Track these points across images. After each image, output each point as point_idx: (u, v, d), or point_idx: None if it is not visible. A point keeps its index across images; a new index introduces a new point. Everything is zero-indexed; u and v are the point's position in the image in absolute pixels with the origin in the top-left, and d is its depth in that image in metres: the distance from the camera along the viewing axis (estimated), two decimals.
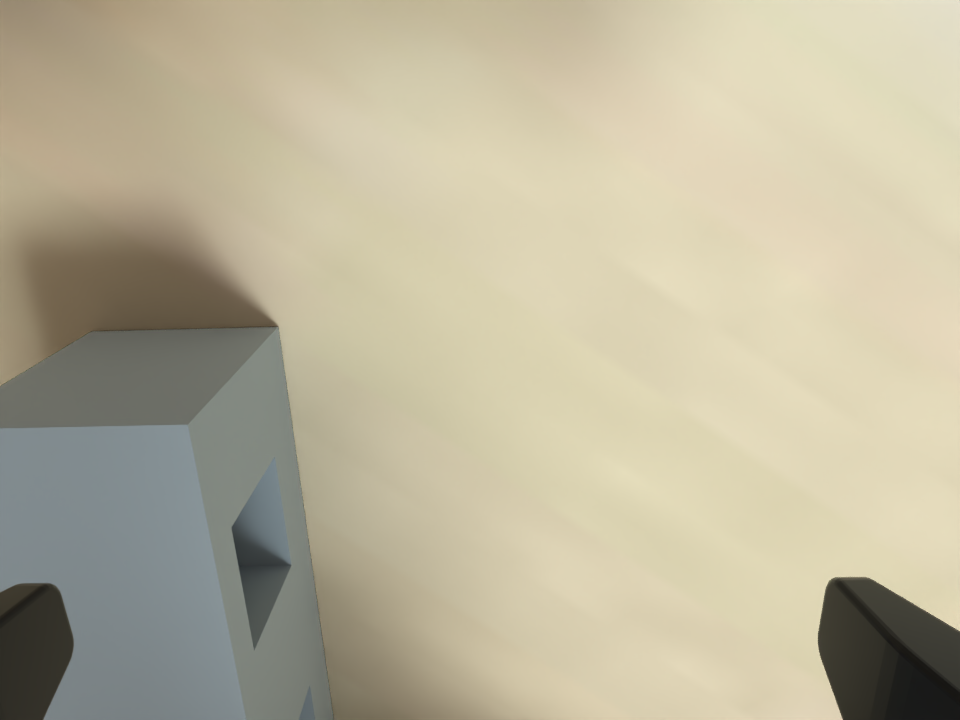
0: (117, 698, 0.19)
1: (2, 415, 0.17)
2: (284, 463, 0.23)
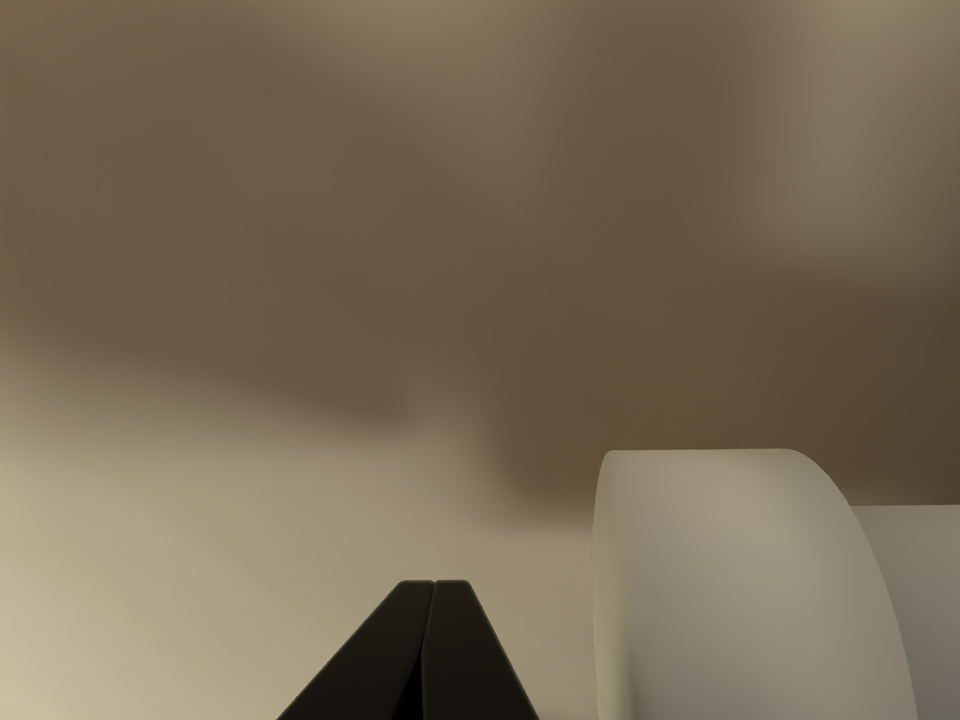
0: None
1: None
2: None
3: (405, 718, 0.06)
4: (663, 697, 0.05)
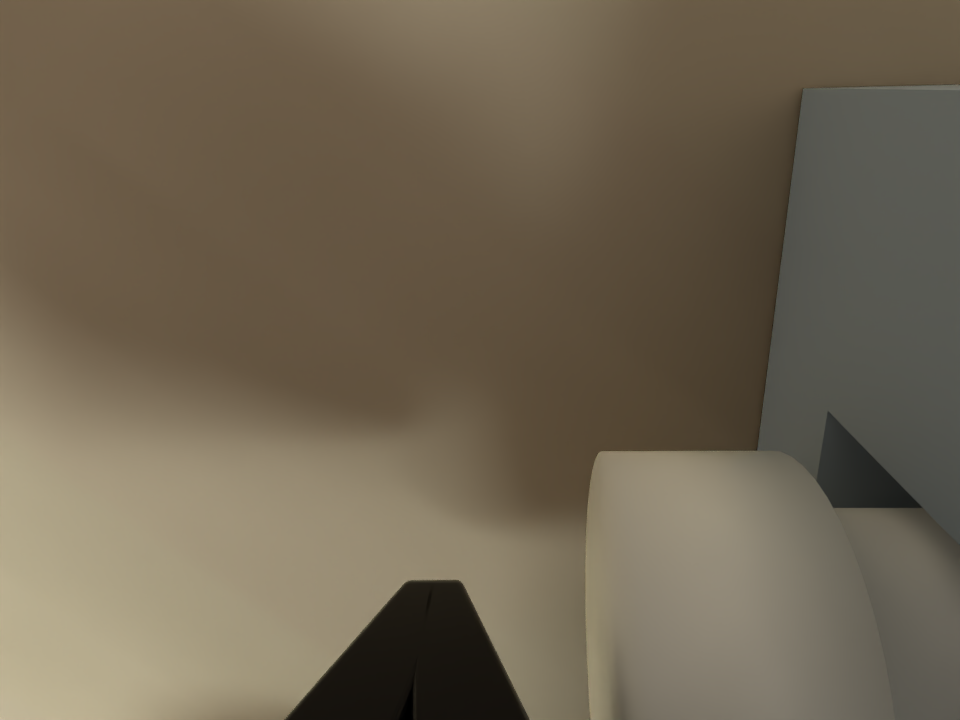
0: None
1: None
2: None
3: None
4: (643, 695, 0.05)
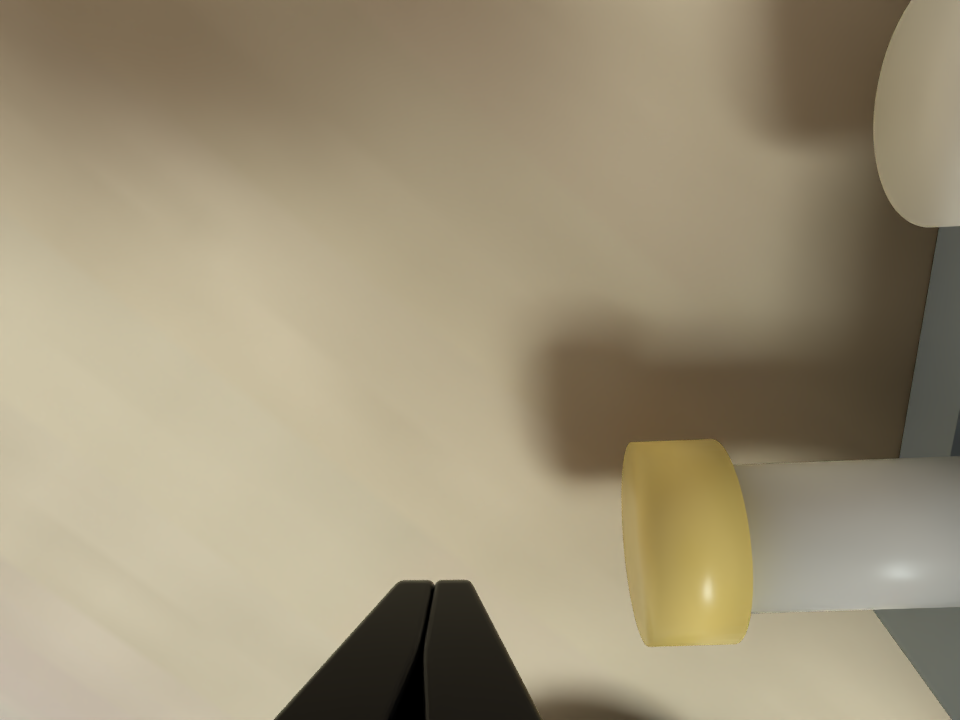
0: None
1: None
2: None
3: (403, 718, 0.06)
4: None
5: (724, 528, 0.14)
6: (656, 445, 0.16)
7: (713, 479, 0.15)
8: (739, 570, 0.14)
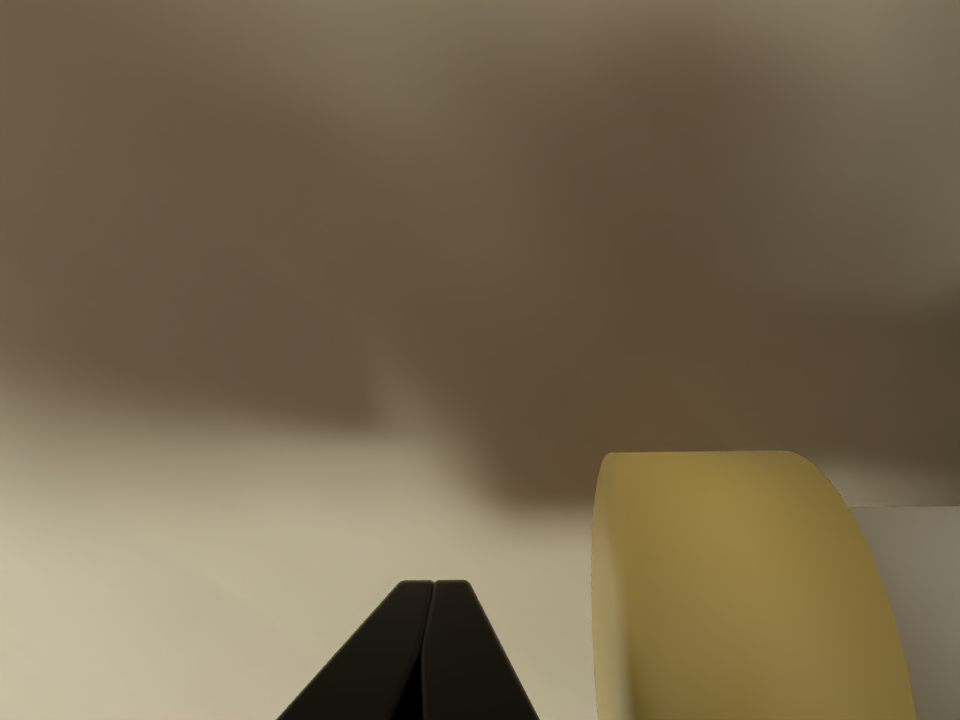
0: None
1: None
2: None
3: (405, 718, 0.06)
4: None
5: (846, 691, 0.05)
6: (665, 462, 0.07)
7: (809, 555, 0.06)
8: None
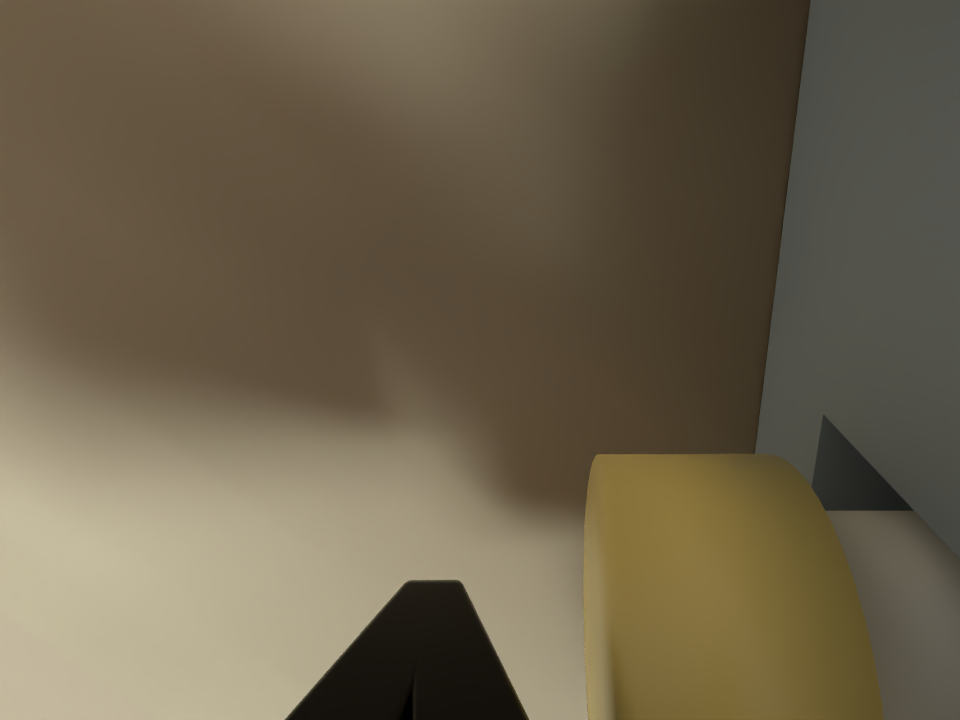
0: None
1: None
2: None
3: None
4: None
5: (815, 689, 0.05)
6: (650, 463, 0.07)
7: (785, 555, 0.06)
8: None
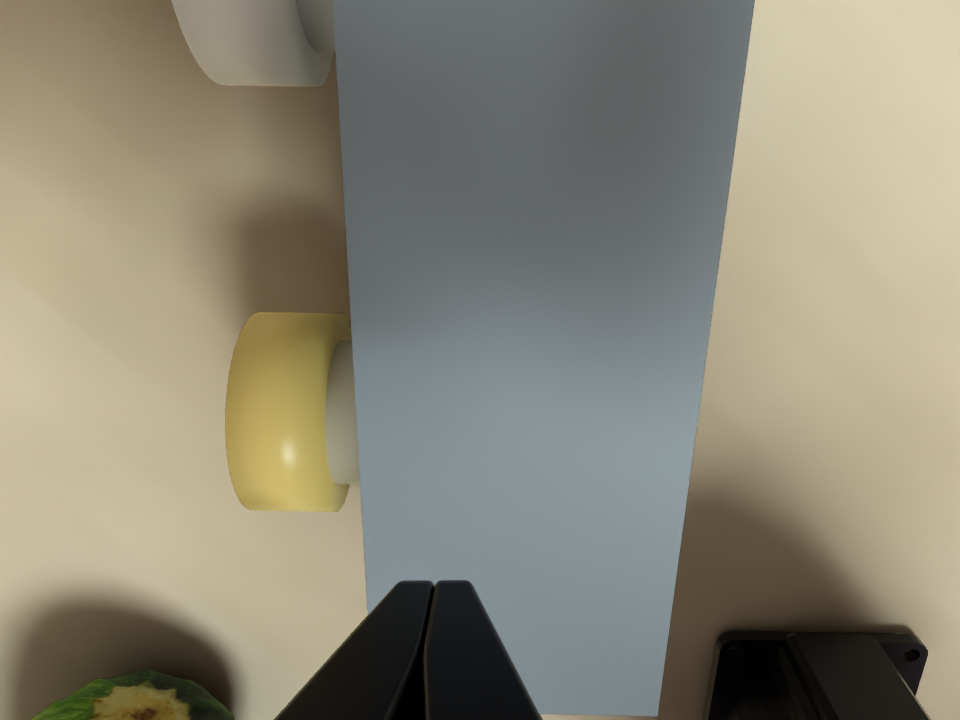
0: (516, 109, 0.11)
1: None
2: None
3: (403, 718, 0.06)
4: None
5: (296, 383, 0.14)
6: (276, 312, 0.16)
7: (302, 339, 0.15)
8: (305, 424, 0.14)
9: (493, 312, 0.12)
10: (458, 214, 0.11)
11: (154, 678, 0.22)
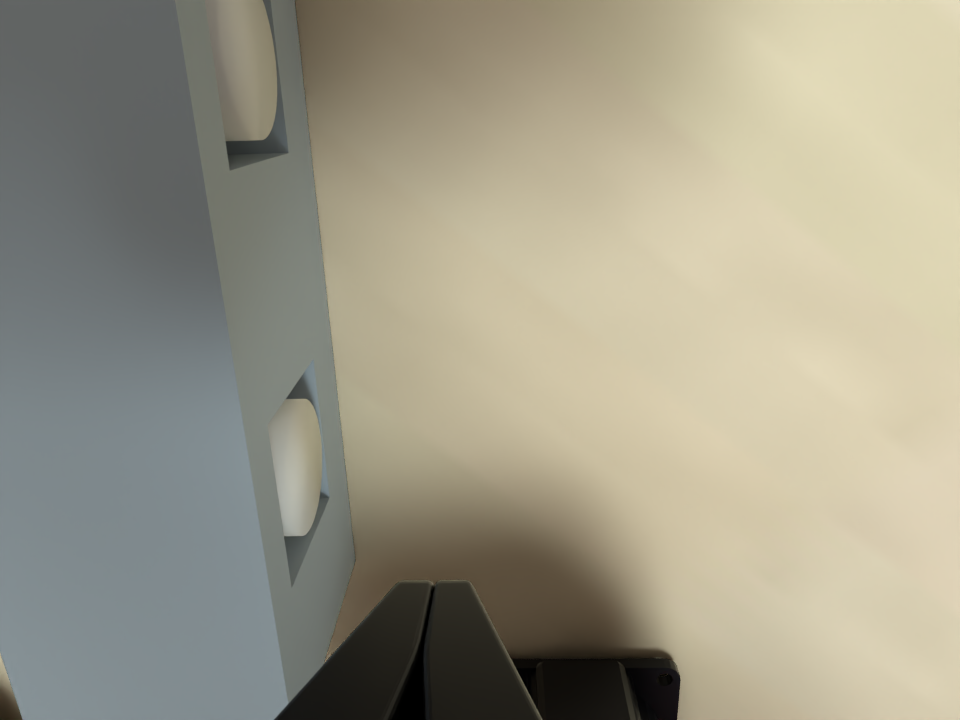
0: (10, 211, 0.12)
1: None
2: None
3: (403, 718, 0.06)
4: None
5: None
6: None
7: None
8: None
9: (40, 388, 0.13)
10: None
11: None
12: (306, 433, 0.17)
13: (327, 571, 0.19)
